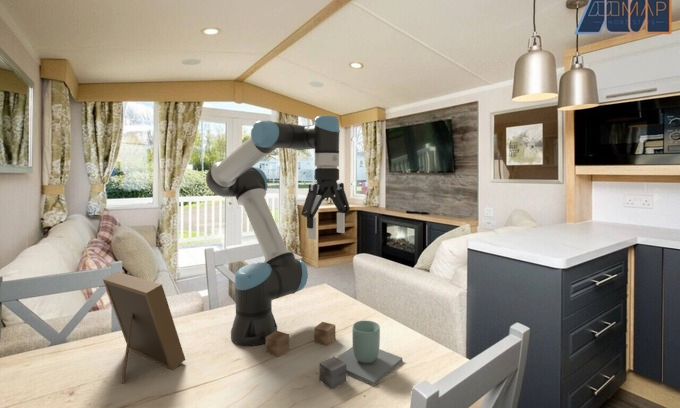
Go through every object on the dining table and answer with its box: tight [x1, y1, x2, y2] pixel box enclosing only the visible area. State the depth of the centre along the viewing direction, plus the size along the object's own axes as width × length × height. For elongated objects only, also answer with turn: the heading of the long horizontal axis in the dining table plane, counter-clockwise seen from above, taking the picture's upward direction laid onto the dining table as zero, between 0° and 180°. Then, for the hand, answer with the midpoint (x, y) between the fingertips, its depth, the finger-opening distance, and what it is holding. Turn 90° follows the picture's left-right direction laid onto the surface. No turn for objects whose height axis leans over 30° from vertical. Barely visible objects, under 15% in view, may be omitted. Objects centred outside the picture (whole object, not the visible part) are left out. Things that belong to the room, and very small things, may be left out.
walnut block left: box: [313, 321, 336, 347], centre depth 112 cm, size 5×5×5 cm
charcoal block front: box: [319, 356, 347, 390], centre depth 91 cm, size 5×5×5 cm
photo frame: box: [102, 271, 186, 385], centre depth 97 cm, size 15×22×25 cm
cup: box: [351, 320, 381, 364], centre depth 99 cm, size 8×8×10 cm
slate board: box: [335, 346, 403, 387], centre depth 99 cm, size 15×15×1 cm
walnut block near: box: [265, 330, 290, 358], centre depth 106 cm, size 5×5×5 cm
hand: (327, 235), depth 109 cm, fingers open, 13 cm apart
